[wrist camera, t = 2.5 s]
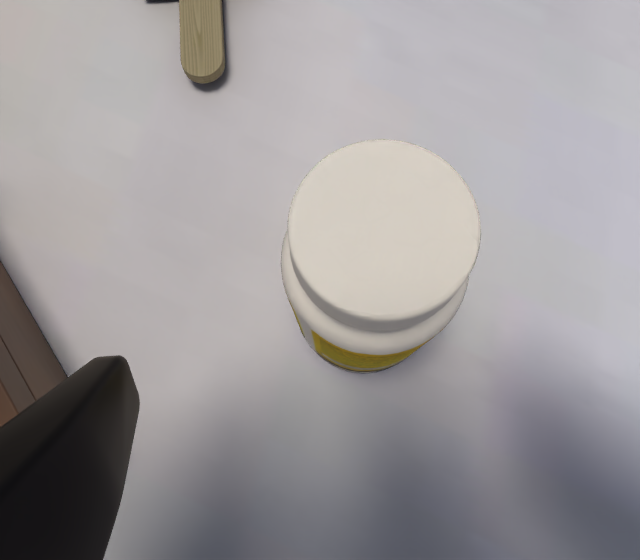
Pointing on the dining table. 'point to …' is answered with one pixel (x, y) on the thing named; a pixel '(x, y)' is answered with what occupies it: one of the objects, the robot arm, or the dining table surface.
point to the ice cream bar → (202, 39)
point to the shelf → (22, 355)
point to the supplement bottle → (378, 252)
